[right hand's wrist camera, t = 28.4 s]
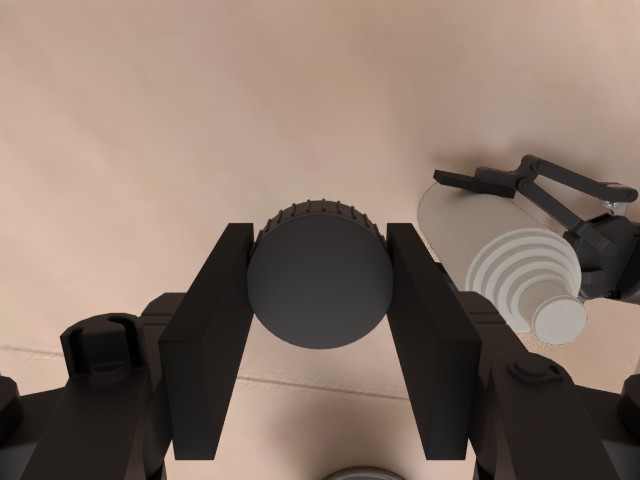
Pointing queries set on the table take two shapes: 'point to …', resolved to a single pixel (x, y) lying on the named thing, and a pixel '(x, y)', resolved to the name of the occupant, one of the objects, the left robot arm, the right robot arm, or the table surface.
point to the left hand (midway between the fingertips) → (424, 223)
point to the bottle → (506, 260)
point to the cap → (320, 275)
